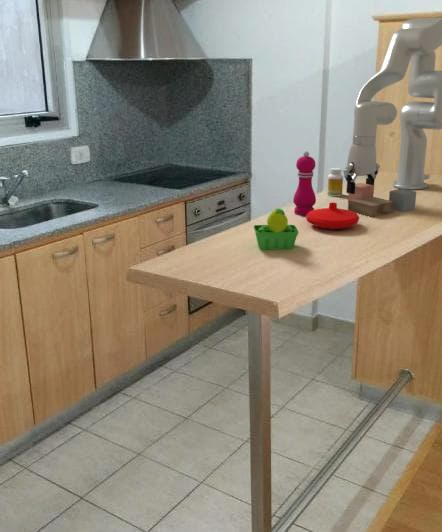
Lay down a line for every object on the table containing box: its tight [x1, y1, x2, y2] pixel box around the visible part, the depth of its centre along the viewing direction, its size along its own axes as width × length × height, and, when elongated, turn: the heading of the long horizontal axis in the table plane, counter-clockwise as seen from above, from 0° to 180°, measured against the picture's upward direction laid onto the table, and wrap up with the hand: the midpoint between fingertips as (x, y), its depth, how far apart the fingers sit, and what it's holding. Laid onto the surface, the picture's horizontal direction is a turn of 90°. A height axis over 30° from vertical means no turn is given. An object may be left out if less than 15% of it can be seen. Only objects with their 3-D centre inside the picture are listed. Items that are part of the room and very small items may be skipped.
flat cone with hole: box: [305, 201, 360, 230], centre depth 179 cm, size 16×16×7 cm
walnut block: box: [347, 196, 394, 218], centre depth 195 cm, size 10×10×4 cm
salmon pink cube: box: [347, 182, 375, 201], centre depth 207 cm, size 6×6×6 cm
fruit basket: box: [253, 207, 299, 250], centre depth 159 cm, size 11×9×11 cm
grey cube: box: [388, 188, 417, 213], centre depth 198 cm, size 6×6×6 cm
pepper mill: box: [292, 151, 317, 217], centre depth 191 cm, size 7×7×20 cm
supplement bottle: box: [326, 167, 344, 197], centre depth 217 cm, size 5×5×10 cm
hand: (360, 191), depth 207 cm, fingers open, 9 cm apart
